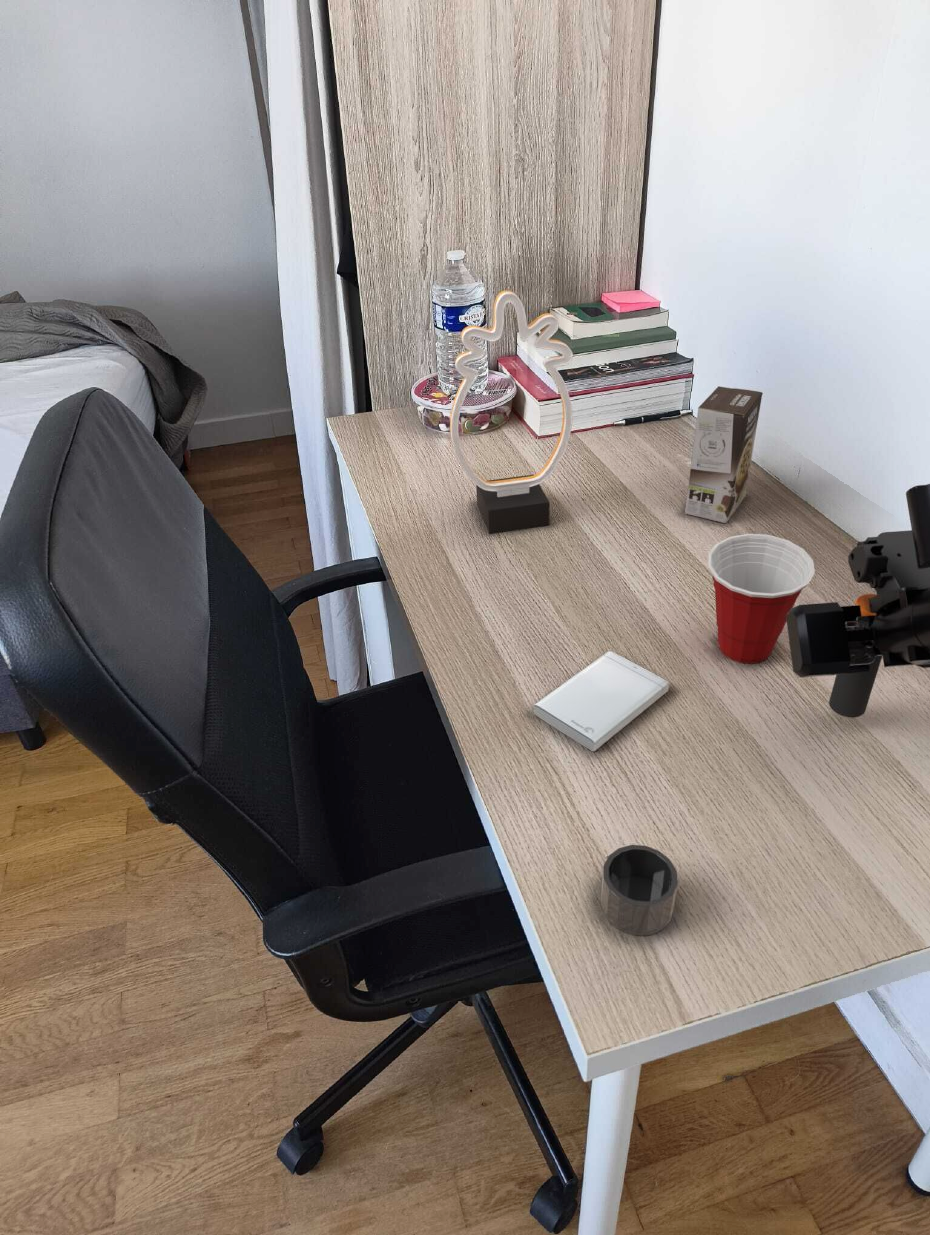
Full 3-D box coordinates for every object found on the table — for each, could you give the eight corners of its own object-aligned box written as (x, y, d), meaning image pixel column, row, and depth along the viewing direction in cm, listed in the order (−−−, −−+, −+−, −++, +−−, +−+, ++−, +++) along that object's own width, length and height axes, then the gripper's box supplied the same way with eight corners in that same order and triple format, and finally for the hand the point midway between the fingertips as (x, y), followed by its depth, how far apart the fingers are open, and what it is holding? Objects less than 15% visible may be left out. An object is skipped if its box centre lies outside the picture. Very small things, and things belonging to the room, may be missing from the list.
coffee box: (727, 524, 117) (744, 415, 108) (683, 514, 120) (696, 407, 111) (747, 496, 124) (764, 390, 114) (704, 487, 126) (718, 383, 117)
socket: (685, 924, 68) (690, 894, 65) (618, 944, 66) (621, 914, 64) (653, 867, 72) (657, 837, 70) (590, 885, 71) (592, 854, 69)
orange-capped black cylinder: (867, 699, 85) (898, 597, 77) (864, 721, 82) (896, 618, 75) (830, 691, 86) (857, 590, 79) (826, 712, 84) (854, 610, 76)
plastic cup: (685, 667, 93) (697, 576, 86) (705, 613, 101) (718, 526, 94) (788, 690, 89) (809, 597, 82) (800, 632, 97) (821, 543, 90)
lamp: (559, 493, 127) (563, 274, 109) (576, 521, 120) (583, 292, 101) (450, 508, 125) (435, 287, 107) (461, 537, 118) (447, 307, 99)
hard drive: (594, 741, 82) (669, 680, 89) (533, 703, 87) (608, 648, 94) (594, 753, 83) (668, 692, 90) (533, 714, 88) (607, 659, 95)
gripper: (1046, 513, 67) (937, 558, 83) (815, 530, 67) (749, 571, 83) (1072, 651, 66) (956, 670, 81) (835, 668, 65) (764, 684, 81)
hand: (855, 646), depth 81 cm, fingers closed on orange-capped black cylinder, 3 cm apart
